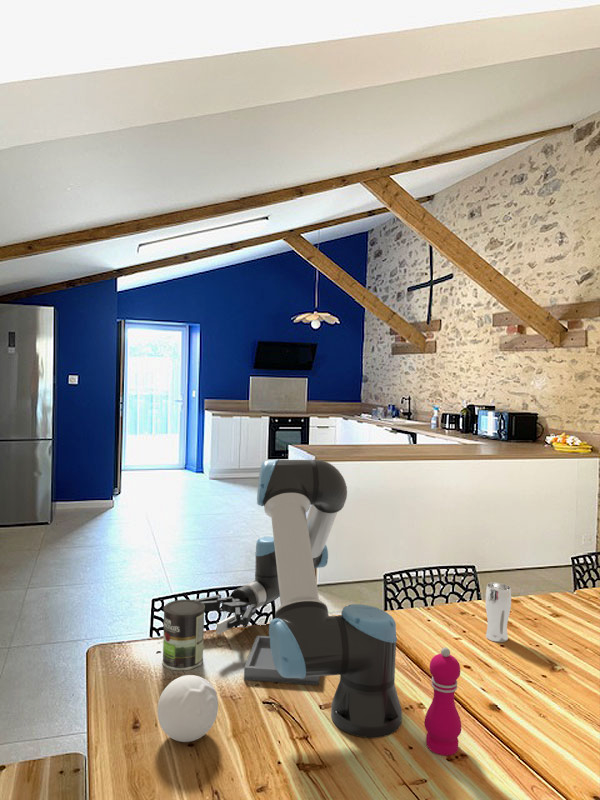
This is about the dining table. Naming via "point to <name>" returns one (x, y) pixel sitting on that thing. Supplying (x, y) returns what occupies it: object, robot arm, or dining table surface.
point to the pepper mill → (443, 705)
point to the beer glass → (497, 611)
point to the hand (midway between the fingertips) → (197, 622)
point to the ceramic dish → (268, 665)
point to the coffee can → (183, 634)
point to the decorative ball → (187, 708)
